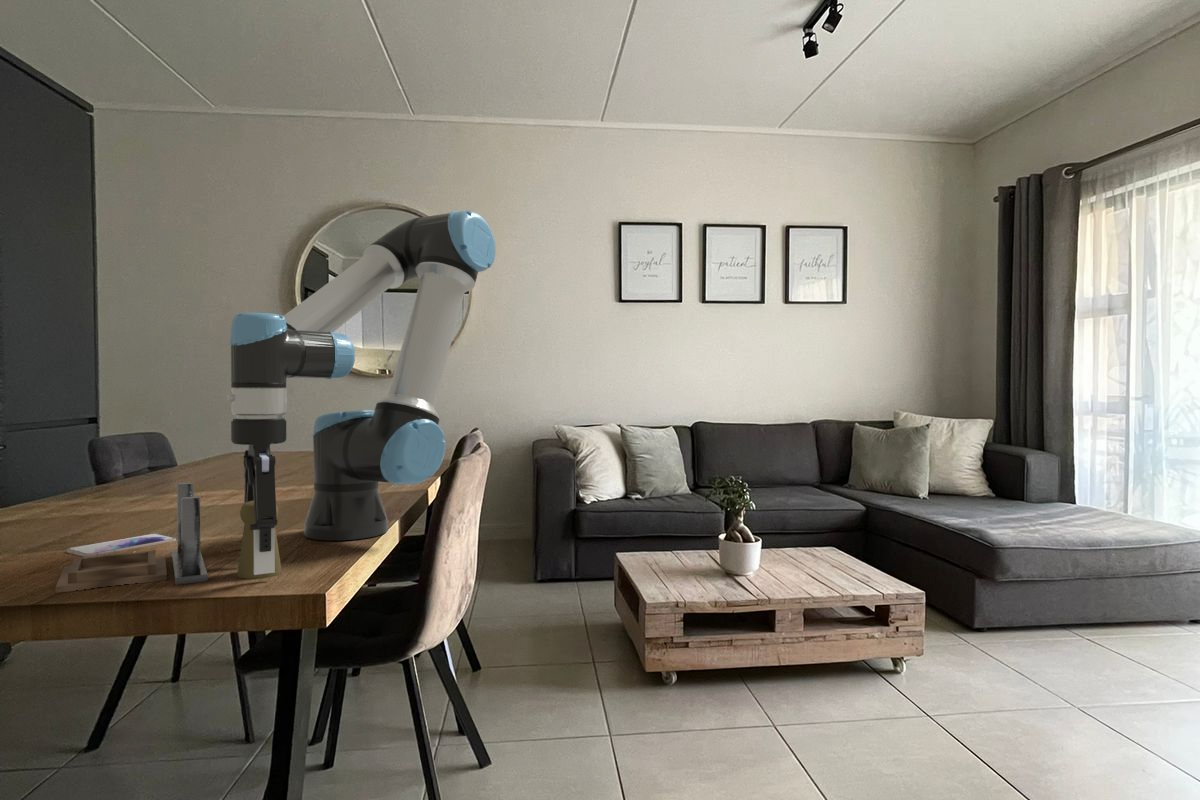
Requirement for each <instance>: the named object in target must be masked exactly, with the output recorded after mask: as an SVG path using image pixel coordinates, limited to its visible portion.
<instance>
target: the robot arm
mask: <svg viewBox="0 0 1200 800" xmlns="http://www.w3.org/2000/svg"><path fill="white" fill-rule="evenodd" d="M496 247H497V246H496V241H495V237H494V235H493V231H492V229H491V227H490V226H489V224H488V222H487V221H486V219H485V218H483V217H482V216H481V214H479V213H477V212H475V211H471V210H460V211H459V210H454V211H451V212H450V213H448V212H447V213H441V214H435V215H434V214H433V215H428V216H427V215H426V216H418V217H414V218H411V219H408V220H407V221H404V222H403V223H400V224H399V225H397V226H395V227H394V228H392V229H391V230H389V231H388V232H386V233H385V234H383V235H382V236H381V237H379V238H378V239H377V240H375V241H374V242H372V243H371V244H370V245H368V246H367V247H366V248H365V249H364V251H363V253H362V257H361V258H360V259H359V260H357V261H356V262H355V263H353V264H352V265H350V266H349V267H347V268H346V269H344V271H342V272H341V273H340V274H338V275H336V276H335V277H333V278H332V280H330V281H329V282H327V283H326V284H324V285H323V286H322V287H320V288H319V289H318V290H317V291H315V292H314V293H313V294H311V295H310V296H309V297H306V299H304V300H303V301H301V302H300V303H299V304H298V305H296V306H295V307H293V308H292V309H291V310H289V311H288V312H287V313H285V314H284V315H281V314H277V313H266V312H241V313H237V314H235V315H234V316H233V318H232V319H231V327H230V337H229V338H230V340H229V346H230V381H231V384H230V386H231V387H230V388H231V394H227V396H226V401H228V402H232V403H231V405H230V406H231V407H230V409H231V414H232V415H233V416H235V418H233V419H232V420H231V421H230V437H231V438H230V440H231V443H232V444H235V445H244V446H247V445H248V449H246V450H245V451H244V453H243V458H242V459H243V460H242V461H243V467H244V471H243V472H244V473H243V476H244V495H243V496H244V503H243V504H245V503H246V502H249V501H253V500H254V513H255V524H251V525H250V530H254V575H258V574H267V573H275V529H276V526H277V525H278V519H277V518H278V516H276V504H277V499H276V498H277V497H276V474H275V473H276V472H275V471H276V470H275V469H276V468H275V466H276V456H275V455H273V454H271V445H273V444H274V445H277V444H283V443H286V441H287V420H286V418H284V417H283V415H286V414H287V411H288V404H287V403H288V402H287V401H288V399H287V398H288V394H287V393H288V391H287V390H288V388H287V378H288V379H326V380H328V379H329V380H331V379H337V378H338V379H340V378H344V377H346V376H348V375H349V374H350V372H351V371H352V370H353V367H354V364H355V362H356V354H355V353H356V350H355V346H354V344H353V342H352V340H351V339H350V338H349V337H348V336H347V335H346V334H344V333H339V332H338V333H336V331H337V330H338V329H339V328H341V327H342V326H343V325H345V324H346V323H347V322H348V321H349V320H350V319H352V318H353V317H355V316H356V315H357V314H358V313H360V312H361V311H362V310H363V309H365V308H366V307H367V306H368V305H369V304H371V303H372V302H373V301H375V300H376V299H377V298H378V297H380V296H381V295H382V294H383V293H385V292H387V290H388V289H391V290H393V289H397V288H399V287H400V286H402V285H403V284H404V283H406V282H408V281H410V280H412V279H416V278H418V279H420V281H419V285H418V288H417V291H416V294H415V299H414V303H413V304H412V305H413V306H412V309H411V313H410V317H409V321H408V324H407V327H406V331H405V334H404V338H403V342H402V345H401V348H400V352H399V355H398V358H397V362H396V366H395V369H394V373H393V376H392V379H391V383H390V386H389V389H388V393H387V394H388V395H386V397H383V398H381V399H380V400H377V401H376V404H375V407H374V410H373V409H363V410H361V409H358V410H348V411H336V412H330V413H329V412H327V413H325V414H320V415H318V416H317V417H316V418H315V420H314V423H313V434H312V441H313V496H312V499H311V502H310V504H309V509H308V511H307V514H306V517H305V520H304V523H303V535H304V537H306V538H308V539H311V540H316V541H317V540H319V541H348V540H349V541H350V540H361V539H367V538H373V537H378V536H380V535H384V534H387V532H388V531H389V522H388V521H389V520H388V516H387V513H386V509H385V507H384V504H383V500H382V498H381V496H380V491H379V483H388V484H394V485H396V486H404V485H417V484H422V483H424V482H425V481H427V480H428V479H430V478H431V477H433V476H434V475H435V473H436V472H437V471H438V470H439V469H440V467H441V464H442V463H443V460H444V458H445V454H446V448H447V447H446V444H447V443H446V440H445V439H444V437H445V435H444V431H443V428H441V427H440V426H439V422H440V419H441V418H440V416H439V414H438V413H437V411H436V408H435V407H436V406H435V405H436V402H437V397H438V394H439V390H440V387H441V383H442V379H443V377H444V372H445V368H446V365H447V361H448V357H449V353H450V349H451V346H452V341H453V338H454V334H455V330H456V327H457V326H456V325H457V323H458V319H459V315H460V310H461V308H462V304H463V300H464V296H465V293H468V292H470V291H472V290H473V289H474V288H475V286H476V282H477V278H478V275H479V272H484V271H486V270H488V269H489V268H491V267H492V266H493V264H494V262H495V258H496V251H497V249H496ZM264 517H268V518H264Z"/></svg>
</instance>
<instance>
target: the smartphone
mask: <svg viewBox="0 0 1200 800" xmlns="http://www.w3.org/2000/svg"><path fill="white" fill-rule="evenodd" d="M176 541H177V539H176V537H172V536H168V535H163V534H159V533H149V534H145V535H137V536H133V537H132V536H131V537H126V538H120V539H114V540H109V541H103V542H97V543H91V544H87V545H79V546H74V547H68V548H67V549H66V553H68V554H71V555H76V556H79V557H90V556H101V555H108V554H112V553H117V552H123V551H128V550H134V549H141V548H145V547H148V546H149V547H150V546H154V545H155V546H156V545H160V544H167V543H171V542H176Z"/></svg>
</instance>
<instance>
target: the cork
mask: <svg viewBox="0 0 1200 800" xmlns="http://www.w3.org/2000/svg"><path fill="white" fill-rule="evenodd" d="M240 508H241V509H240V511H239V513H240V514H239V516H240V519H241V521H242V522H243V524H244V525H243V532H242V537H241V538H242V541H241V546H240V547H241V548H240V553H239V561H238V562H239V563H238V568H237V577H238V578H241V579H248V580H249V579H250V580H251V579H252V580H255V579H264V578H270V577H275V576H278V575H279V574H281V573H282V572H283V571H282V565H281V558H280V552H279V543H278V538H277V537H278V536H277V530H276V528H275V573H267V574H258V575H254V530H250V525H251V524H255V513H254V500H253V501H249V502H246V503H245V504H244V503H243V505H242V506H241V507H240ZM276 516H277V517H279V507H278V504H277V503H276ZM264 518H268V517H264ZM281 571H282V572H281Z"/></svg>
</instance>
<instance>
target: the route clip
mask: <svg viewBox="0 0 1200 800" xmlns="http://www.w3.org/2000/svg"><path fill="white" fill-rule="evenodd" d="M176 504H177V506H176V507H177V508H176V509H177V510H176V511H177V512H176V513H177V514H176V516H177V517H176V518H177V519H176V520H177V521H176V522H177V523H176V524H177V525H176V526H177V528H176V529H177V532H176V534H177V539H176V541H177V549H171V561H172V568H173V569H172V570H173V575H174V584H176V585H175V586H177V585H178V584H179V585H186V584H194V583H195V584H196V583H203V582H208V581H209V580H208V571H207V568H206V565H205V562H204V558H203V555H202V552H201V497H200V496H195V483H194V482H179V483H177V484H176Z"/></svg>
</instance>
